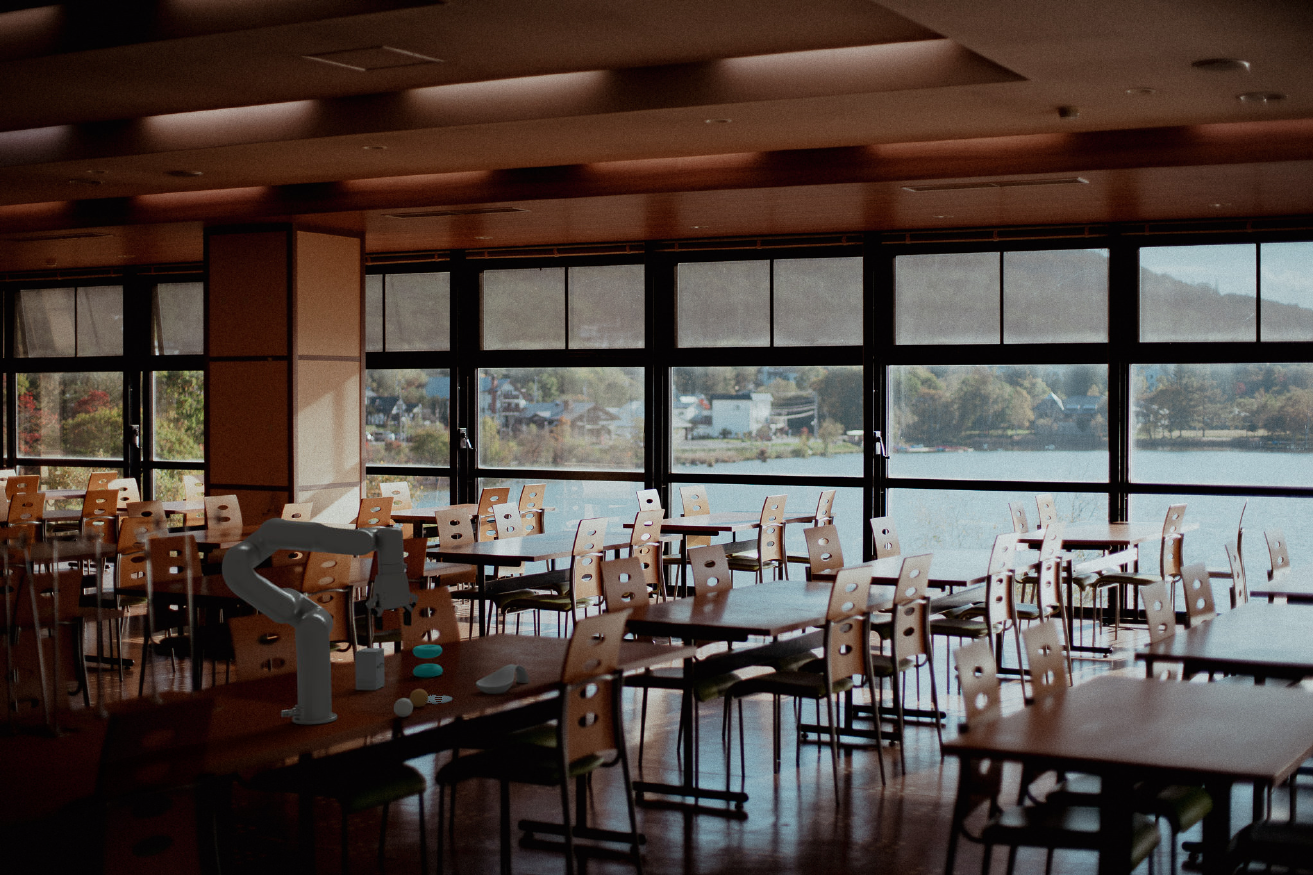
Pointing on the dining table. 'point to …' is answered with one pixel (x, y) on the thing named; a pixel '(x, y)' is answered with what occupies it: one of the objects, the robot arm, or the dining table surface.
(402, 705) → the cue ball
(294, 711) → the robot arm
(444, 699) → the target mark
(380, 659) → the supplement box
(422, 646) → the donuts
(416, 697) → the orange ball
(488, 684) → the spoon rest
